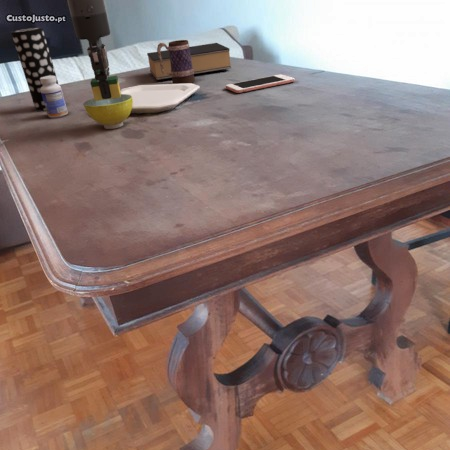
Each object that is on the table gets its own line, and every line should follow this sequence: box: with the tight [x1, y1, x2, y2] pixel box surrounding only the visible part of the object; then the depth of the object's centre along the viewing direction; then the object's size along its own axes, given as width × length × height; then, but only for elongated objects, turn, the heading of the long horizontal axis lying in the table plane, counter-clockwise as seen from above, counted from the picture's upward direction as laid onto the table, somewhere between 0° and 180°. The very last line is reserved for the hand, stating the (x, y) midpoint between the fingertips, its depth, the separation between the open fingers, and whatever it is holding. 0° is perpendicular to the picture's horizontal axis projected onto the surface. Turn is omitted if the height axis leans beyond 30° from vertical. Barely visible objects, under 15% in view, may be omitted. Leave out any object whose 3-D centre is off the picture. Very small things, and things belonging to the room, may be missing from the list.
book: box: [146, 42, 232, 82], centre depth 160 cm, size 17×25×7 cm
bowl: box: [83, 94, 133, 130], centre depth 113 cm, size 11×12×6 cm
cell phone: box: [225, 73, 296, 94], centre depth 134 cm, size 9×18×1 cm, turn 112°
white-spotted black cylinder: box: [10, 26, 60, 112], centre depth 134 cm, size 8×8×20 cm
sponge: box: [90, 75, 121, 101], centre depth 111 cm, size 6×4×4 cm
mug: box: [156, 39, 196, 84], centre depth 144 cm, size 10×7×12 cm
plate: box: [120, 83, 201, 114], centre depth 130 cm, size 25×25×2 cm
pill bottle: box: [40, 76, 69, 119], centre depth 127 cm, size 5×5×10 cm
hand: (107, 95), depth 112 cm, fingers closed on sponge, 4 cm apart
